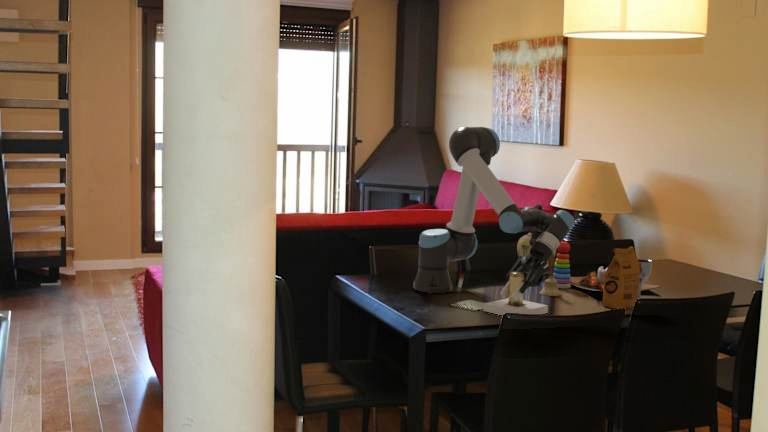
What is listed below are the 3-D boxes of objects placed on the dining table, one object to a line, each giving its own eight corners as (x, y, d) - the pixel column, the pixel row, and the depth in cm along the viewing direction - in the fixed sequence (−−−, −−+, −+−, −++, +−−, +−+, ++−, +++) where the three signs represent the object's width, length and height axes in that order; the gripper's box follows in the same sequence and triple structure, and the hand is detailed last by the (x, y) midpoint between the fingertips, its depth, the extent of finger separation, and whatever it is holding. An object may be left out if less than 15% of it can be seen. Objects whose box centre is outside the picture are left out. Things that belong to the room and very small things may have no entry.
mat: (448, 305, 315) (448, 304, 315) (469, 301, 324) (470, 299, 323) (474, 311, 307) (475, 310, 307) (495, 307, 315) (496, 305, 315)
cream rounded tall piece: (515, 268, 396) (519, 202, 392) (553, 270, 393) (557, 204, 390) (516, 275, 378) (519, 206, 375) (555, 277, 376) (559, 208, 372)
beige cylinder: (505, 309, 307) (506, 272, 305) (513, 307, 310) (515, 271, 309) (516, 312, 303) (518, 275, 302) (525, 310, 307) (527, 273, 305)
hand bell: (548, 296, 336) (550, 255, 334) (535, 292, 343) (537, 252, 341) (565, 295, 340) (567, 254, 338) (552, 291, 347) (554, 251, 345)
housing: (483, 311, 307) (483, 303, 306) (510, 305, 318) (510, 297, 318) (520, 320, 296) (520, 311, 295) (547, 313, 307) (547, 305, 307)
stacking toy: (570, 289, 351) (573, 243, 349) (550, 288, 352) (553, 242, 350) (570, 286, 359) (573, 240, 356) (551, 284, 360) (553, 239, 358)
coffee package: (597, 305, 323) (601, 246, 321) (620, 302, 330) (624, 244, 328) (618, 310, 315) (622, 250, 313) (641, 307, 322) (645, 248, 320)
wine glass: (646, 302, 331) (649, 263, 330) (625, 299, 336) (628, 260, 334) (652, 298, 338) (654, 260, 336) (631, 295, 342) (634, 258, 341)
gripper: (567, 258, 306) (531, 309, 299) (531, 250, 321) (495, 299, 313) (558, 244, 302) (521, 295, 295) (521, 237, 317) (485, 285, 309)
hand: (508, 297), depth 304 cm, fingers closed on beige cylinder, 5 cm apart
